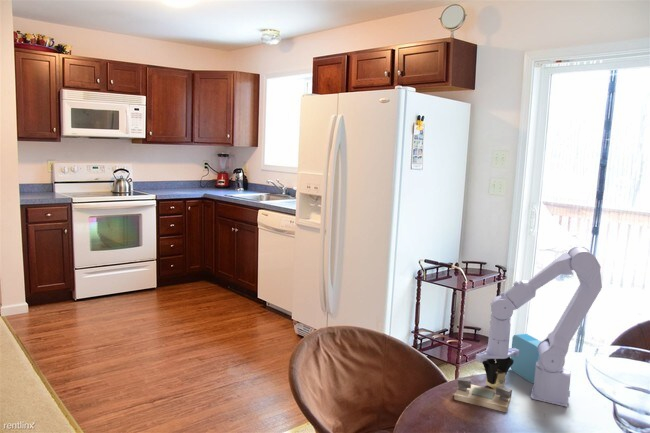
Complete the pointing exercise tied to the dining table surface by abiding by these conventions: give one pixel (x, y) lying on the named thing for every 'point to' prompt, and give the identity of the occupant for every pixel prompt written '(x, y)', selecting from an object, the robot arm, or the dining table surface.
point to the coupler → (498, 379)
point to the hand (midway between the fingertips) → (495, 381)
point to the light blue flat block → (525, 356)
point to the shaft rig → (483, 395)
